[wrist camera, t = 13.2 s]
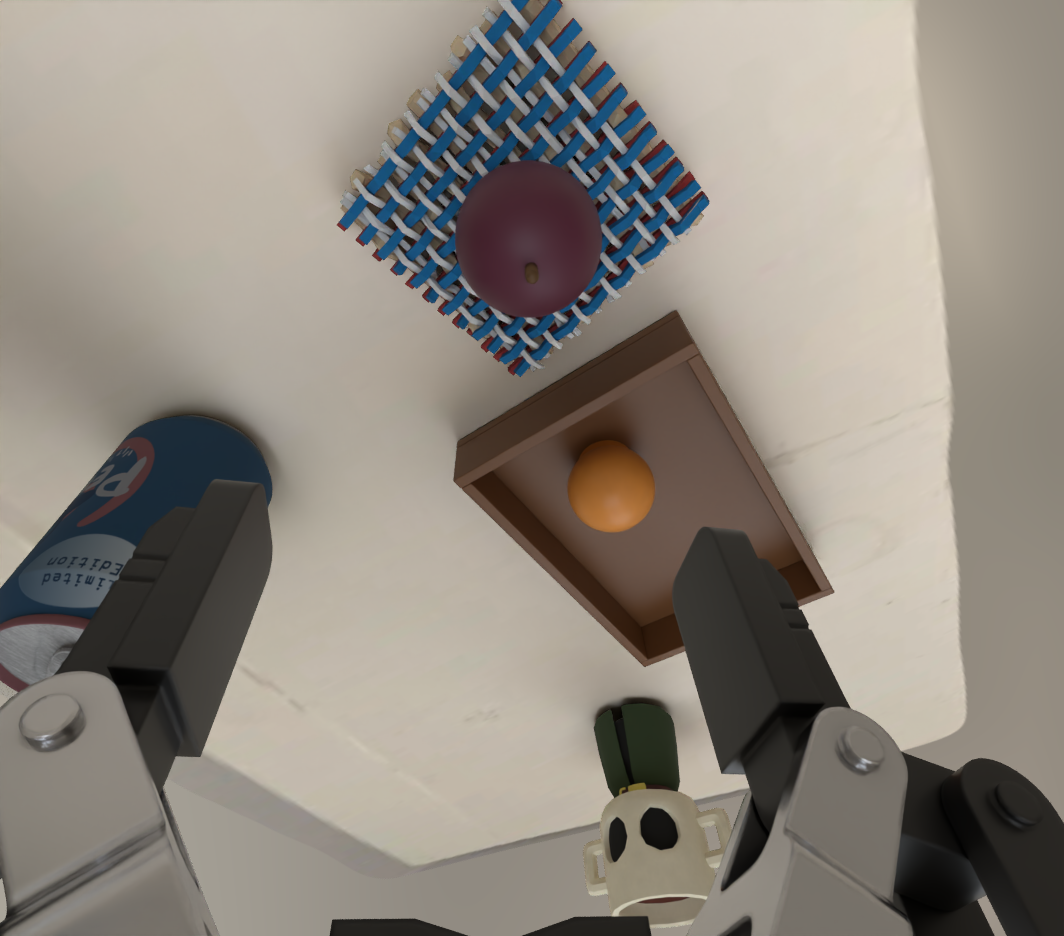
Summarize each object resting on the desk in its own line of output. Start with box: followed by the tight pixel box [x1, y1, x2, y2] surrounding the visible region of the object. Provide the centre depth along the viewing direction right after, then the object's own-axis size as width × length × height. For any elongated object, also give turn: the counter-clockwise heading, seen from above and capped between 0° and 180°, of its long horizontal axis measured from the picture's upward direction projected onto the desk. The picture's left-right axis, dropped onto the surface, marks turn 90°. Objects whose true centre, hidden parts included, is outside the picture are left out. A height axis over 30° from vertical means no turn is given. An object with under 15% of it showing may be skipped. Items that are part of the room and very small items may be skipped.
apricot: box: [567, 440, 655, 532], centre depth 29 cm, size 4×4×4 cm
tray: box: [454, 311, 834, 667], centre depth 32 cm, size 19×12×3 cm, turn 34°
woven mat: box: [337, 0, 709, 377], centre depth 22 cm, size 10×11×2 cm
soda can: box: [0, 415, 272, 692], centre depth 25 cm, size 7×7×12 cm
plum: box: [455, 160, 602, 318], centre depth 19 cm, size 5×5×6 cm
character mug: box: [583, 703, 732, 928], centre depth 43 cm, size 11×7×13 cm, turn 122°
